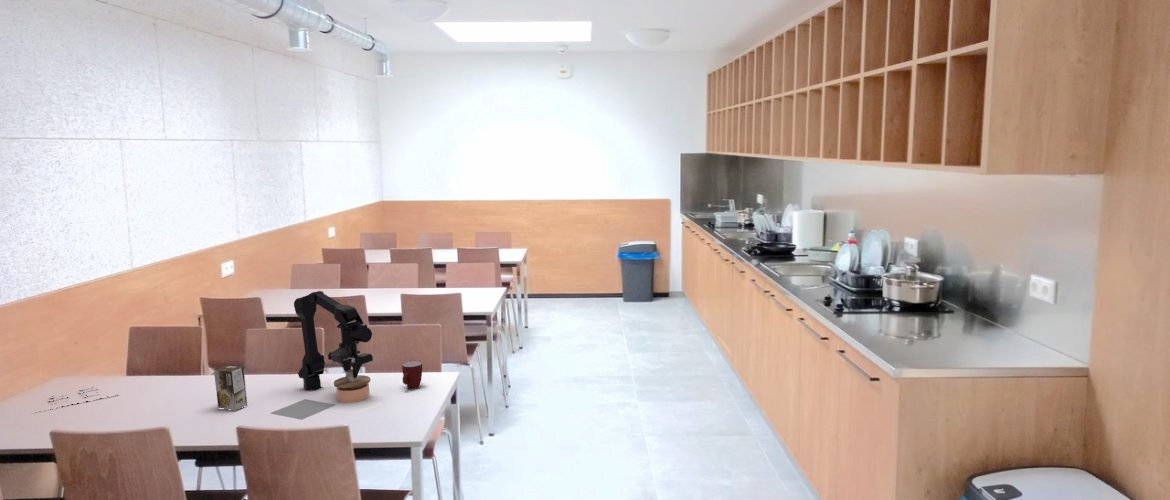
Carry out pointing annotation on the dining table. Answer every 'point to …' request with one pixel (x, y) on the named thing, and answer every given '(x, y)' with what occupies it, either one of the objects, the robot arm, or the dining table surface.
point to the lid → (351, 380)
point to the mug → (412, 374)
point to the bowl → (353, 393)
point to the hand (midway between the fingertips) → (351, 377)
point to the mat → (303, 409)
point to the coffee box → (230, 387)
